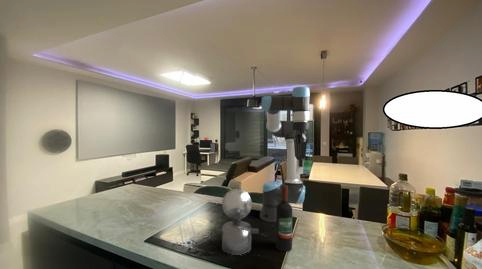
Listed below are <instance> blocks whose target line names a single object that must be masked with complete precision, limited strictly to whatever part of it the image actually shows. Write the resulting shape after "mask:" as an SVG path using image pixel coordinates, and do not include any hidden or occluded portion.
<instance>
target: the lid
mask: <svg viewBox="0 0 482 269" xmlns="http://www.w3.org/2000/svg"><path fill="white" fill-rule="evenodd" d="M221 206H222V210H223V212H224V214H225V215H226V216H227V217H228V218H229V219H232V221H242V219H244V218H247V216H248V215H249V214H250V212H251V211H252V206H253V204H252V198H251V196H250V194H249V193H248V192H247V191H246V190H244V189H241V188H233V189H231V190H229V191H227V192H226V193H225V195H224V196H223V198H222V204H221Z"/></svg>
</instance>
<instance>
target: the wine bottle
mask: <svg viewBox="0 0 482 269" xmlns="http://www.w3.org/2000/svg"><path fill="white" fill-rule="evenodd" d="M287 194H288V186H287V185H282V201H281V203H279V204H278V205H277V213H276V222H275V224H276V227H275V229H276V230H275V232H276V233H275V248H276V249H277V250H278V251H281V252H283V251H285V252H291V251H292V250H293V206H292V204H291V203H288V201H287ZM285 252H284V253H285Z"/></svg>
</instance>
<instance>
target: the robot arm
mask: <svg viewBox="0 0 482 269" xmlns="http://www.w3.org/2000/svg"><path fill="white" fill-rule="evenodd" d="M310 97H311V94H310V87H307V86H296V87H293V88H292V94H291V95H267V96H265V95H264V96H262V97H261V110H262V112H266V119H267V121H266V126H265V127H266V130H267V131H268V133H269V134H270V135H272V136H274V137H275V138H279V139H281V138H283V139H284V142H285V143H286V179H285V181H284V182H283V183H281V182H280V181H277V180H276V181H275V180H274V181H268V182H264V183H263V186H262V207H261V210H260V212H259V218H260V220H262V221H264V222H267V223H276V213H277V205H278V204H279V203H281V201H282V185H287V186H288V194H287V201H288V203H289V204H292V205H294V204H295V205H301V204H303V203H304V201H305V197H306V196H305V194H306V185H304V183H303V181H302V180H301V175H303V174H304V160H305V159H306V157H307V156H306V155H307V148H308V146H307V145H308V141H309V137H307V135H306V131H309V129H310V122H309V121H310ZM290 111H291V115H290V116H291V120H281V112H290Z"/></svg>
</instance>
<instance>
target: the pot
mask: <svg viewBox="0 0 482 269" xmlns="http://www.w3.org/2000/svg"><path fill="white" fill-rule="evenodd" d="M214 228H215V229H214V234H221V237H222V238H221V239H222V240H221V249H222V251H223V253H225V252H226V253H228V254H227V255H229V254H231V255H230V256H233V255H240V256H243V255H242V254H244V255H246V254H245V253H247V252H248V253H250V252H251V250H252V234H257V235H258V234H260V230H259V228H258V227H256V228H255V227H252V225H251V224H250V223H249V222H247V221H244V220H243V221H242V220H241V221H233V220H230V221H227V222H225V223H224V224H222V228H221V227H217V228H216V227H214ZM226 253H225V254H226ZM248 253H247V254H248Z"/></svg>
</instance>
